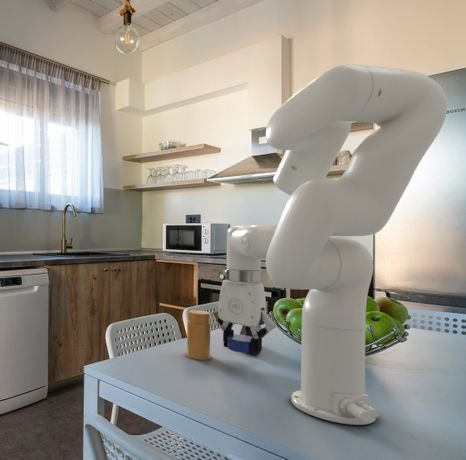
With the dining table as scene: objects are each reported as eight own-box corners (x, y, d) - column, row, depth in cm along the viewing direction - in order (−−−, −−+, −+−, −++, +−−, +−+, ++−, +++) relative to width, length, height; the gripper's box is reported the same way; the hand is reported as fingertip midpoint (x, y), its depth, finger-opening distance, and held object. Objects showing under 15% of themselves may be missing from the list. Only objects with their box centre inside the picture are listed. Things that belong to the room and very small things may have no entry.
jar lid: (257, 348, 99) (258, 337, 98) (255, 355, 93) (255, 343, 93) (229, 343, 102) (229, 333, 102) (225, 350, 97) (225, 338, 97)
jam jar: (213, 360, 101) (214, 314, 101) (192, 359, 101) (192, 314, 101) (204, 353, 107) (204, 310, 107) (183, 353, 107) (184, 310, 107)
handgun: (248, 347, 104) (244, 312, 110) (241, 364, 114) (238, 331, 120) (260, 348, 103) (256, 312, 109) (252, 366, 113) (248, 332, 119)
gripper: (202, 273, 103) (201, 343, 103) (269, 282, 88) (268, 363, 88) (221, 272, 107) (219, 339, 107) (288, 280, 92) (286, 358, 92)
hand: (241, 349), depth 98 cm, fingers closed on jar lid, 6 cm apart
